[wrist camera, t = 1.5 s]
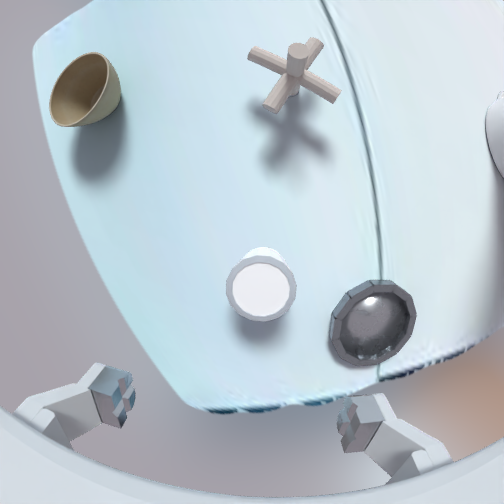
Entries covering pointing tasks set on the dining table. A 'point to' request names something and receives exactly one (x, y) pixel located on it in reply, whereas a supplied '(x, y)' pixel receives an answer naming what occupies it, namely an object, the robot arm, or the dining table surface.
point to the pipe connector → (293, 73)
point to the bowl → (372, 322)
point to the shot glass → (261, 285)
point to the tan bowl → (85, 91)
